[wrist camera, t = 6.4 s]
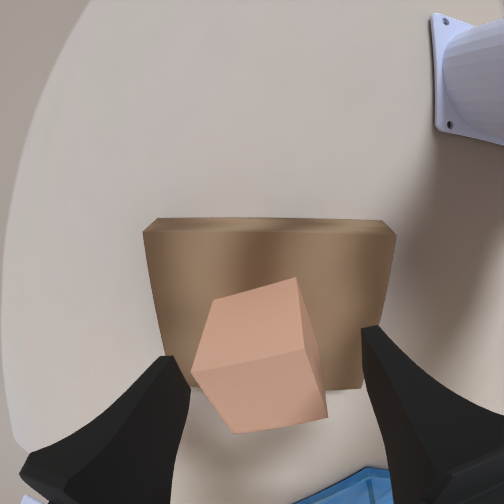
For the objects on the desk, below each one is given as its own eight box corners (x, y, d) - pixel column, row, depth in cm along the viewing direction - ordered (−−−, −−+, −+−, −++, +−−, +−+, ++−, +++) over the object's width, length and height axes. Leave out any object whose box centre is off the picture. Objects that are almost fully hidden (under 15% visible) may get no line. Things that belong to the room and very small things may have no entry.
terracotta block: (296, 277, 17) (304, 348, 12) (317, 342, 19) (328, 417, 14) (213, 300, 18) (190, 372, 13) (243, 360, 20) (233, 433, 14)
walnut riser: (382, 220, 18) (396, 234, 16) (354, 366, 23) (360, 388, 21) (157, 218, 19) (142, 231, 17) (180, 362, 24) (172, 384, 22)
